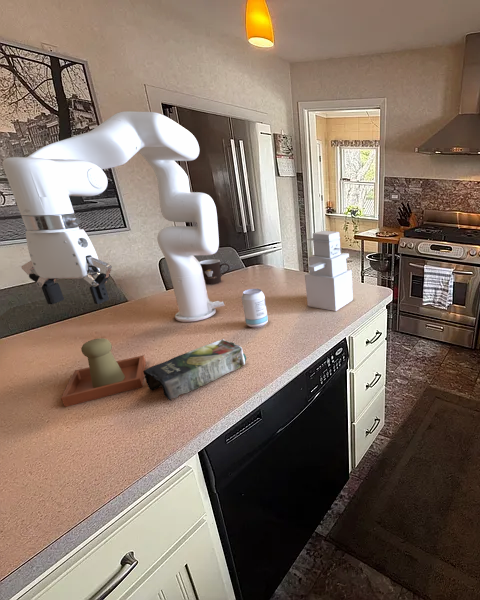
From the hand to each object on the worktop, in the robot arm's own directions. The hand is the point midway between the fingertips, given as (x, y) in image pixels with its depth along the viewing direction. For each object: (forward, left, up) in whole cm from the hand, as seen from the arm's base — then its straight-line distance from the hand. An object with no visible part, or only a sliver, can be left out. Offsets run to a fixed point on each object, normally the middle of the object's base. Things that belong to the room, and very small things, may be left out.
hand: (79, 302), depth 72 cm
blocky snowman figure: (-66, -21, -21) cm, 72 cm away
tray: (0, +1, -21) cm, 21 cm away
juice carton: (-19, +10, -21) cm, 30 cm away
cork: (0, +1, -21) cm, 21 cm away
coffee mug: (-30, -74, -21) cm, 83 cm away
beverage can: (-37, -15, -21) cm, 46 cm away
